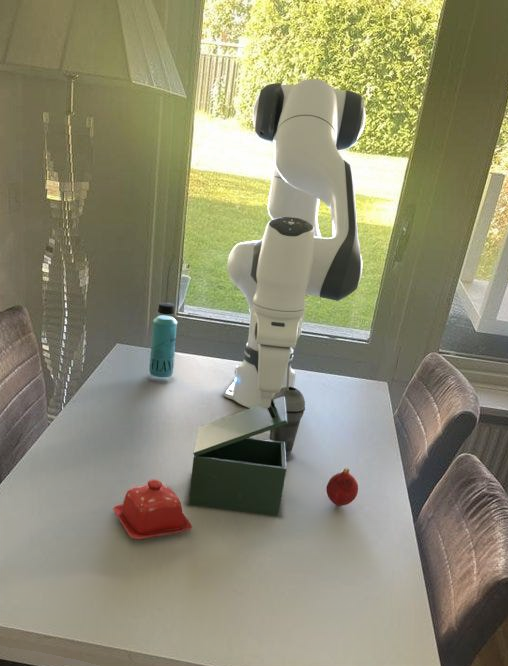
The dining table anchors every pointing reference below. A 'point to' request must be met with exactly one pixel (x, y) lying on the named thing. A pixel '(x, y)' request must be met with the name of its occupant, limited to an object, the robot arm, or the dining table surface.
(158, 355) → the beverage bottle
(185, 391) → the dining table surface
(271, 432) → the beverage cup
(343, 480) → the onion
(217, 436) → the green box lid
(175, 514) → the butter dish
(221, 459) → the green box
